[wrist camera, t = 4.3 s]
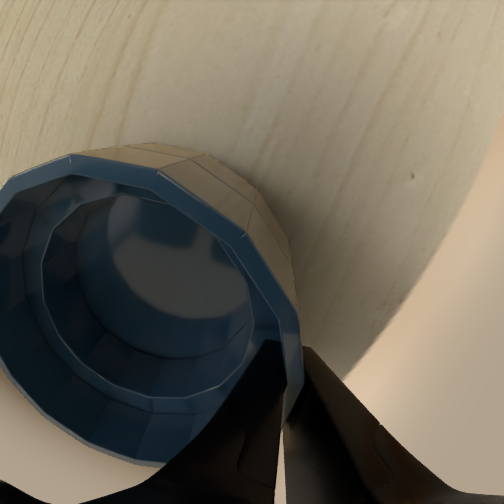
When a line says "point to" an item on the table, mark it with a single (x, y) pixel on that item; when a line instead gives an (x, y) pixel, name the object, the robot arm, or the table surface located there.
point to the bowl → (140, 294)
